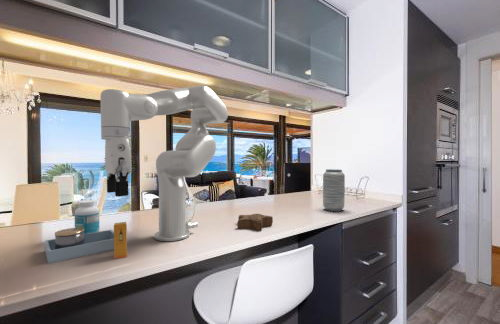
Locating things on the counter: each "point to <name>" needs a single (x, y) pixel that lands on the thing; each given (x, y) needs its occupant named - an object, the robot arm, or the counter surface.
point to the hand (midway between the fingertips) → (117, 193)
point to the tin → (69, 237)
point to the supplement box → (120, 240)
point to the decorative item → (254, 221)
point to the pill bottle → (87, 217)
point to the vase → (333, 190)
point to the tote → (81, 246)
